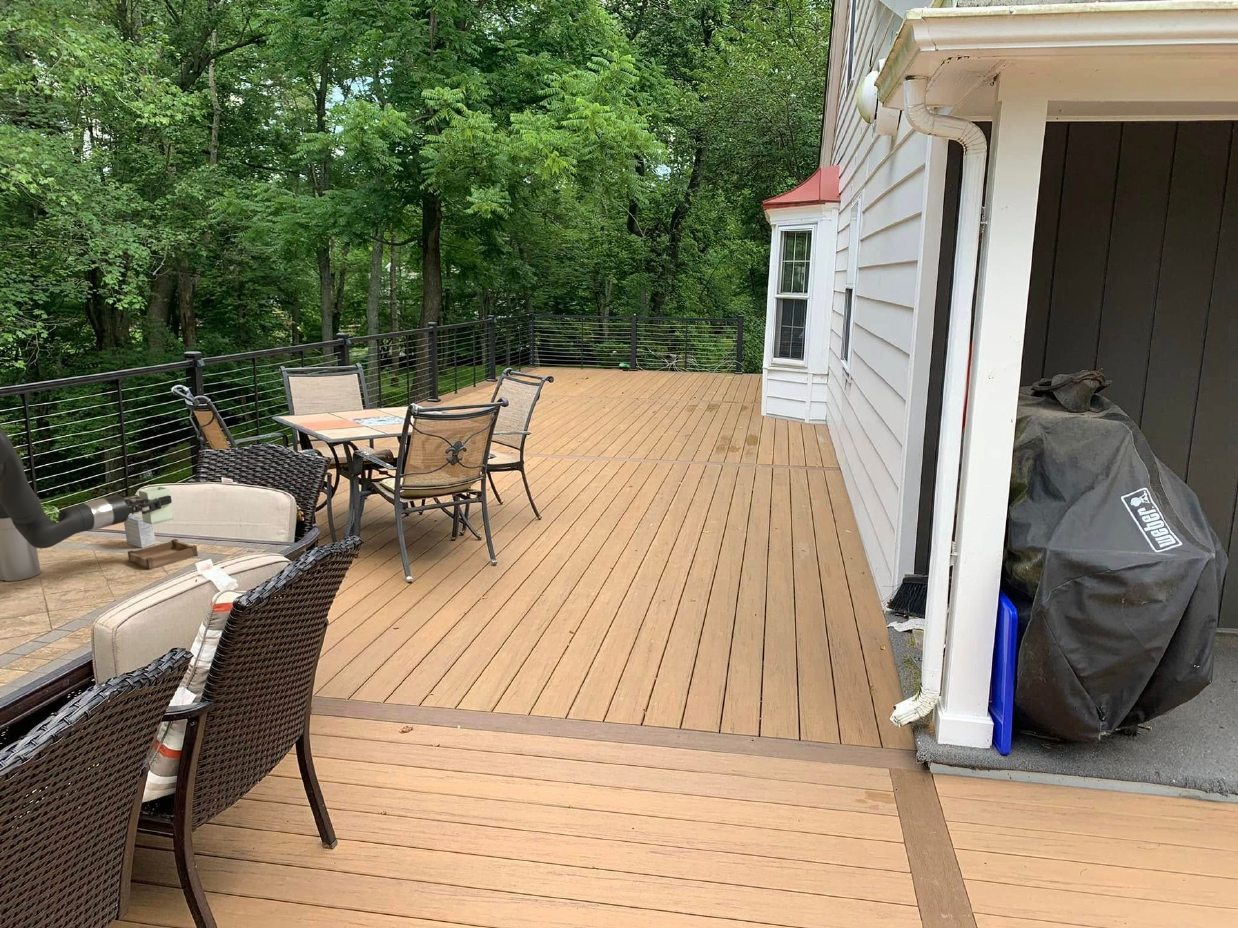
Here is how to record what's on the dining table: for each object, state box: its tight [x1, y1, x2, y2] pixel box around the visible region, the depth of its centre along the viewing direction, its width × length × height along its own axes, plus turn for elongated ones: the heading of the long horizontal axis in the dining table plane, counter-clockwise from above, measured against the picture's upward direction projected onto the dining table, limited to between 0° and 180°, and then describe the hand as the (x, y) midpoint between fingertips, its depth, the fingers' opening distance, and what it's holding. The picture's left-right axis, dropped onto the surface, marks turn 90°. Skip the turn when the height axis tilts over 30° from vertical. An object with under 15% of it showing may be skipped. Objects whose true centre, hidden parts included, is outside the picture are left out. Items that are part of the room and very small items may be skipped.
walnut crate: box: [127, 538, 199, 570], centre depth 251 cm, size 12×14×3 cm
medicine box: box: [123, 513, 157, 549], centre depth 264 cm, size 8×4×9 cm, turn 58°
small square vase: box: [137, 485, 174, 526], centre depth 248 cm, size 5×6×9 cm
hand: (163, 497), depth 250 cm, fingers closed on small square vase, 5 cm apart
